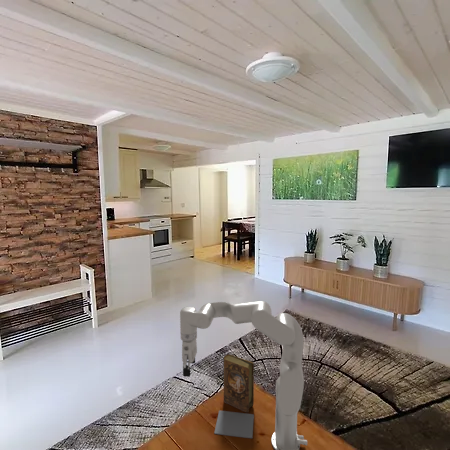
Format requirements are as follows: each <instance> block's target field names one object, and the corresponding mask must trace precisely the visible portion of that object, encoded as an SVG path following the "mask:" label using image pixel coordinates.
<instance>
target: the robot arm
mask: <svg viewBox="0 0 450 450" xmlns="http://www.w3.org/2000/svg"><path fill="white" fill-rule="evenodd" d="M179 318H180V319H179V325H180V326H179V327H180V340H181V341H182V342H181V343H182V344H181V345H182V346H181V360H182V375H183V376H182V377H188V378H189V377H191V364H192V365H194V364H196V356H197V353H198V344H197V338H198V329H201V330H205V329H208V328H210V326H211V324H212V322H213V320H214V319H215V318H227V319H230V320H231V321H232V322H233V323H234V324H236V325H240V324H247V323H248V324H249V323H251V324H252V326H253V327H254V328H255V329H256V330H258V331H259V332H260V333H261V334H263V335H264V336H266V337H267V338H269V339H271V340H272V341H273V342H275V343H277V344H279V345H281V346H282V351H281V352H282V354H281V357H280V364H279V377H278V378H277V379H276V382H275V416H274V417H275V418H274V419H275V420H274V421H275V422H274V423H275V425H274V426H275V427H274V432H273V434H272V436H271V439H270V440H271V445H272V447H273V449H274V450H300V448H301V445H304V446H308V439H305V438H304V435H302V434H301V435H300V434H298V412H299V411H300V408H301V405H302V399H303V393H304V386H305V377H304V371H303V365H302V364H303V363H302V362H303V354H304V346H305V344H304V343H305V342H304V341H305V340H304V334H303V331H302V327H301V325H300V323H299V322H298V321H297V319H296V318H295V317H294V316H292V315H291V314H289V313H286V312H281V313H279V314H277V315H276V317H275V316H274V315H272V308H271V306H270V304H269V303H268V302H266V301H264V300H257V301H249V302H242V303H241V302H240V303H239V302H238V303H230V302H226V301H214V302H209V303H204V304H203V305H202V306H201V307H200V309H199V310H198V311H197V309H196V308H195V307H193V306H186V307H183V308H182V309H180V311H179ZM187 363H188V364H187Z"/></svg>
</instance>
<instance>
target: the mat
mask: <svg viewBox="0 0 450 450" xmlns="http://www.w3.org/2000/svg"><path fill="white" fill-rule="evenodd" d="M254 417H255V415H254V413H253V414H252V413H247V412H245V413H243V412H235V411H228V410H227V411H226V410H220V409H219V410H218V415H217V420H216V424H215V429H214V433H213V434H214V435H219V436H220V435H221V436H229V437H237V438H244V439H253V434H254V433H253V432H254V420H255V419H254Z"/></svg>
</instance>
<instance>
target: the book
mask: <svg viewBox="0 0 450 450" xmlns="http://www.w3.org/2000/svg"><path fill="white" fill-rule="evenodd" d="M254 368H255V364H254V362H252V361H250V360H246V359H245V358H241V357H239V356H235V355H234V354H233V355H232V354H230V353H229V354H225V355H224V356H223V403H225V404H227V405H230V406H232V407H233V408H236V409H238V410H240V411H242V412H245V413H246V414H249V412H250V408H251V407H254V404H255V403H254V402H255V399H254V398H255V397H254V395H255V391H254V390H255V388H254V387H255V383H254V382H255V380H254V379H255V369H254Z"/></svg>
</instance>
